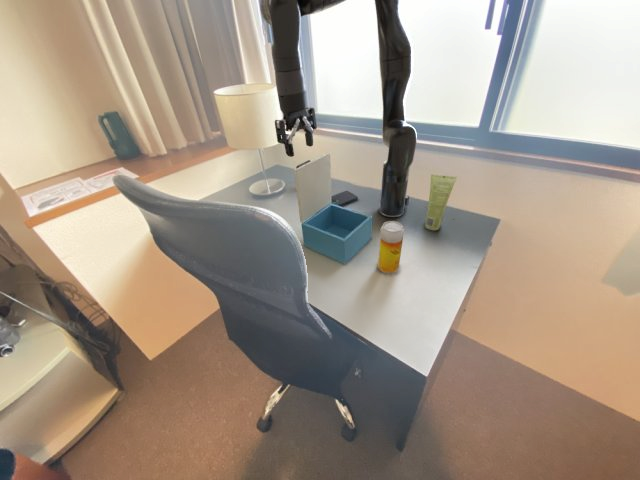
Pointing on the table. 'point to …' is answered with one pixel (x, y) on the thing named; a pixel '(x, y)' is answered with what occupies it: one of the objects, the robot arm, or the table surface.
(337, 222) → the blue open box
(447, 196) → the tube
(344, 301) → the table surface
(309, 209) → the lid
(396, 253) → the beer can
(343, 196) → the smart home device
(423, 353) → the table surface
